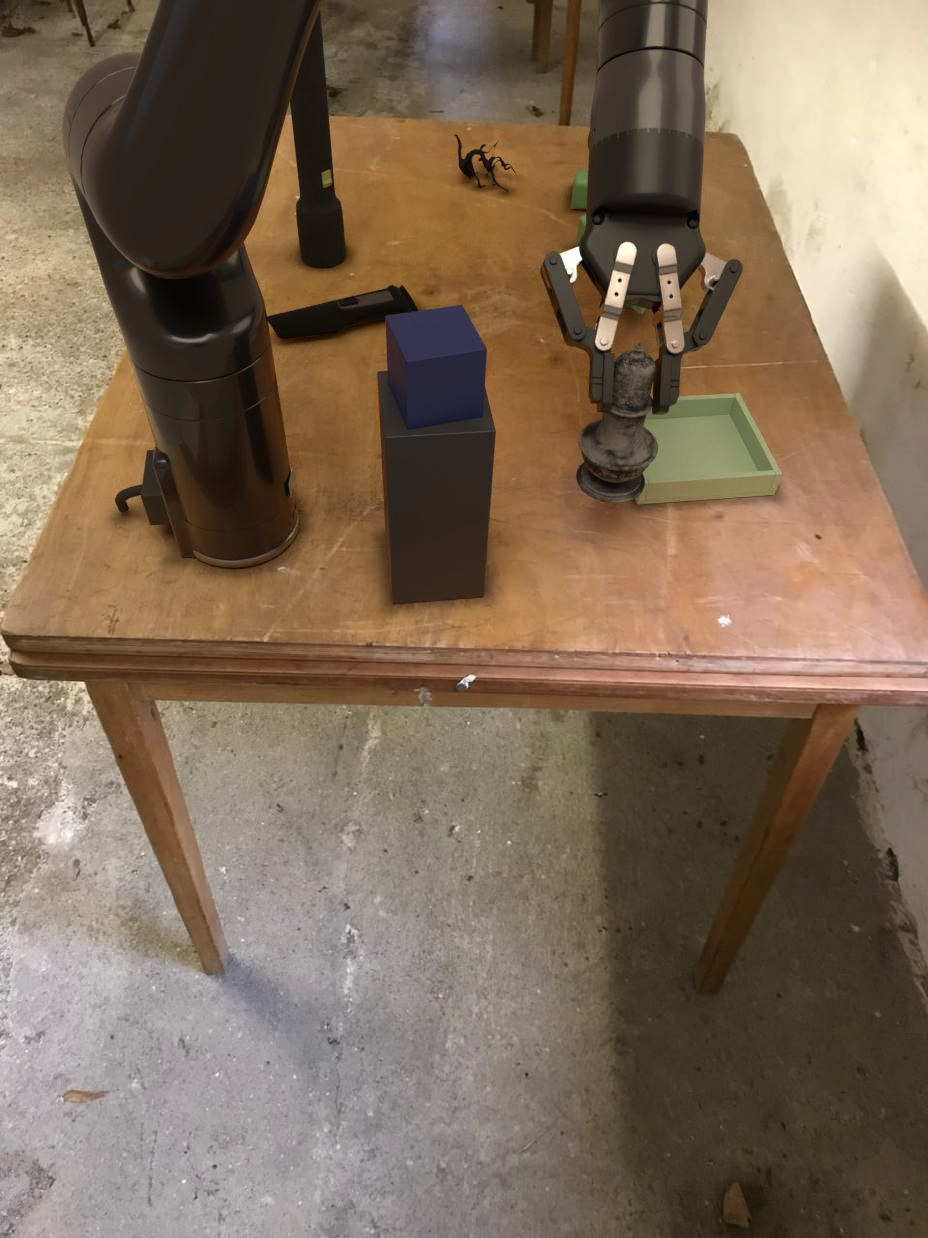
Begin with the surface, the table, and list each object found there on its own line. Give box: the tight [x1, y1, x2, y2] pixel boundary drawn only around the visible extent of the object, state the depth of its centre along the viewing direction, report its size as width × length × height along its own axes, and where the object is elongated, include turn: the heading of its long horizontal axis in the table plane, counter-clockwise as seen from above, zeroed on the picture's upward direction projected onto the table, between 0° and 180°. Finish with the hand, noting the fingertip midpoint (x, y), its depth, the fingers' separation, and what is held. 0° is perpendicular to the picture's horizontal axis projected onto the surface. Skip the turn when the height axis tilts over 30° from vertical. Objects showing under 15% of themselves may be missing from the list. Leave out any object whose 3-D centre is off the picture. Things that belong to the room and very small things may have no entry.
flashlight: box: [289, 9, 347, 269], centre depth 91 cm, size 5×24×5 cm
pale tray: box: [634, 392, 783, 505], centre depth 79 cm, size 12×11×2 cm
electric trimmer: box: [267, 284, 419, 340], centre depth 90 cm, size 4×16×3 cm, turn 115°
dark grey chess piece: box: [575, 342, 658, 504], centre depth 64 cm, size 6×6×12 cm
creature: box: [453, 134, 517, 192], centre depth 111 cm, size 8×5×8 cm
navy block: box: [384, 304, 488, 430], centre depth 56 cm, size 5×5×5 cm
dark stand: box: [376, 370, 497, 605], centre depth 64 cm, size 7×7×16 cm
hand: (632, 410), depth 61 cm, fingers closed on dark grey chess piece, 3 cm apart
